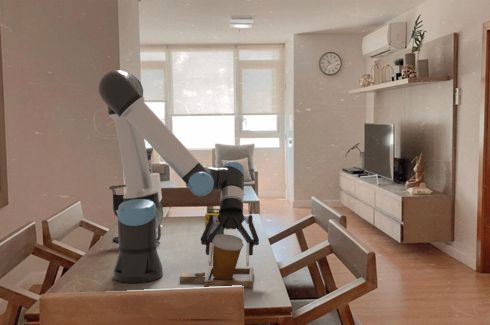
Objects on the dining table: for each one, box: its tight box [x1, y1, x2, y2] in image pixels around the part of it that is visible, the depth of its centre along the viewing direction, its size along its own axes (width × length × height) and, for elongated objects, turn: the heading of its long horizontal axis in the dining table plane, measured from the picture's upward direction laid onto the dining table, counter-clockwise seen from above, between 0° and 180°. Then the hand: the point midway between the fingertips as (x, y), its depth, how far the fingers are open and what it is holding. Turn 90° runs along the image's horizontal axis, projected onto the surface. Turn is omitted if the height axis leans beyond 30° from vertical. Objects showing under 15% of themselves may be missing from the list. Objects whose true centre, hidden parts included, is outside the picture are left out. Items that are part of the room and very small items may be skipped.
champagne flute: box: [150, 172, 163, 229], centre depth 237 cm, size 7×7×24 cm
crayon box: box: [204, 208, 225, 238], centre depth 217 cm, size 7×3×12 cm, turn 76°
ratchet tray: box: [179, 266, 254, 289], centre depth 160 cm, size 22×14×2 cm, turn 88°
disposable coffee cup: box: [212, 233, 244, 280], centre depth 160 cm, size 10×10×12 cm
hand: (228, 264), depth 157 cm, fingers open, 10 cm apart
